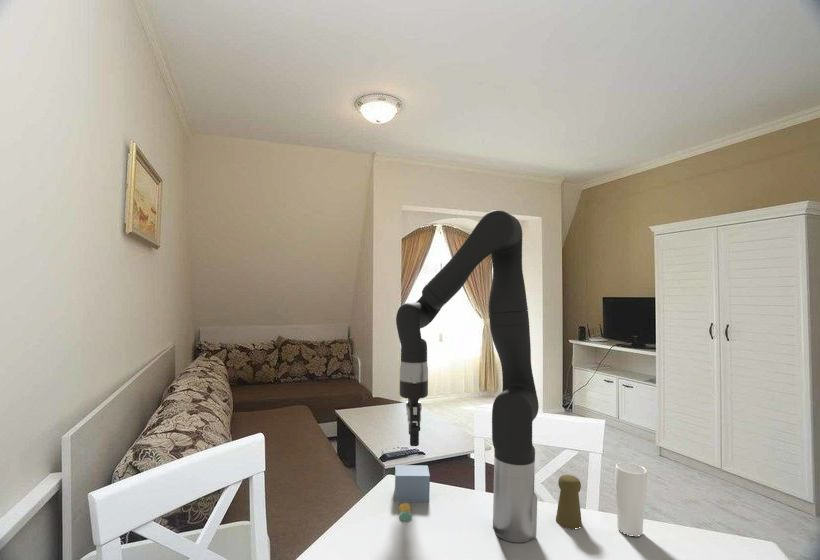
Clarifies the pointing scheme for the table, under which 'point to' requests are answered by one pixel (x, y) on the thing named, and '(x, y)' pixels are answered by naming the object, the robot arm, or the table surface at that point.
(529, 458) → the robot arm
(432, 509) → the table surface
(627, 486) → the drinking glass
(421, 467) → the blue-grey block
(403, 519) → the green marble
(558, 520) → the cork
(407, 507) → the amber marble
